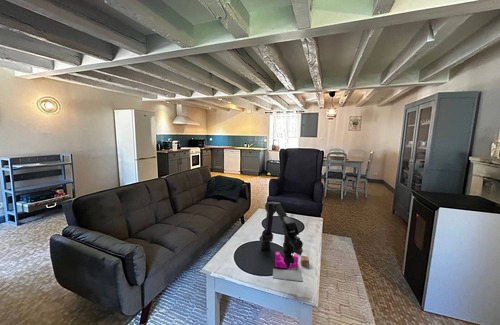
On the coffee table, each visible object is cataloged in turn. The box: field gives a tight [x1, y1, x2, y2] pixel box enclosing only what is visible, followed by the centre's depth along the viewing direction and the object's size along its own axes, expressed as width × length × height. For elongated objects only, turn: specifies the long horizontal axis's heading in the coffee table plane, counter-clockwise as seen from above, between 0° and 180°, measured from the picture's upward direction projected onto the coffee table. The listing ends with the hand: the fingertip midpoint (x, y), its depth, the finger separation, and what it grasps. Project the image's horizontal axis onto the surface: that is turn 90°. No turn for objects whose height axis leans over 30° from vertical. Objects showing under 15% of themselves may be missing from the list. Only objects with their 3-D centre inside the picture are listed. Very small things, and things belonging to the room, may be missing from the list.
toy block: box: [274, 251, 299, 270], centre depth 139 cm, size 15×6×8 cm, turn 81°
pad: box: [272, 268, 304, 283], centre depth 130 cm, size 18×9×1 cm, turn 82°
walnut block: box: [300, 255, 310, 267], centre depth 142 cm, size 5×5×4 cm
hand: (287, 264), depth 129 cm, fingers open, 6 cm apart
